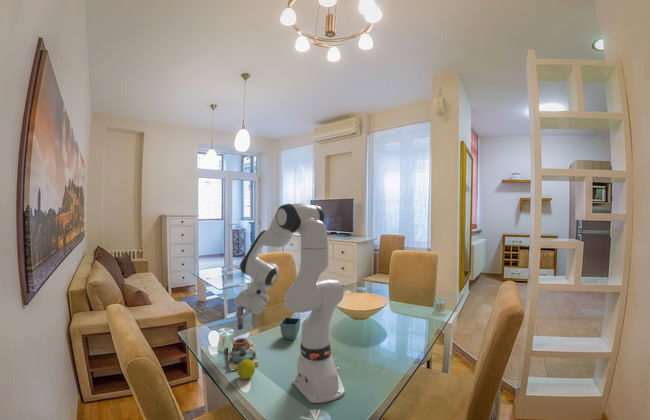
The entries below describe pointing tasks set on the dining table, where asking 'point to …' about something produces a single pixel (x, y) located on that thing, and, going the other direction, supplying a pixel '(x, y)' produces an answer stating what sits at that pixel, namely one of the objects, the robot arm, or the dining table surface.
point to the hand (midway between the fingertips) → (239, 317)
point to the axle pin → (239, 320)
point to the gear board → (241, 353)
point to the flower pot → (290, 328)
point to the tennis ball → (246, 369)
